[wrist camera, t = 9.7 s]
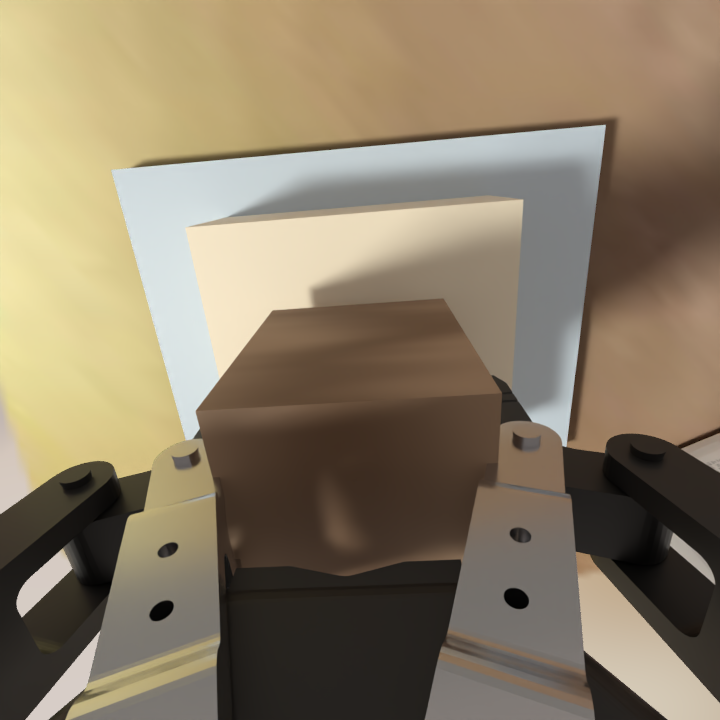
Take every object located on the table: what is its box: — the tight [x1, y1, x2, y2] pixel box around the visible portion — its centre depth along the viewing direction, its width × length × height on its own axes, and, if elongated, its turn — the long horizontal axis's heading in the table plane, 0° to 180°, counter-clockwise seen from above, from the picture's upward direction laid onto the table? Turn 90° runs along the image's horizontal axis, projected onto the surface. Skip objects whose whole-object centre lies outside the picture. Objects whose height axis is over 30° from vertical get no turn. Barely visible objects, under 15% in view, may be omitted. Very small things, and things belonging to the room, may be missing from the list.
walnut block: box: [195, 298, 502, 576], centre depth 11 cm, size 5×5×6 cm
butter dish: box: [111, 125, 606, 447], centre depth 17 cm, size 18×14×5 cm
